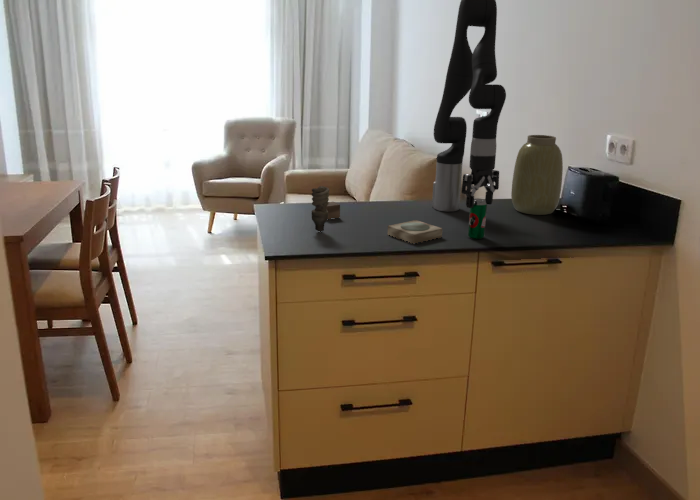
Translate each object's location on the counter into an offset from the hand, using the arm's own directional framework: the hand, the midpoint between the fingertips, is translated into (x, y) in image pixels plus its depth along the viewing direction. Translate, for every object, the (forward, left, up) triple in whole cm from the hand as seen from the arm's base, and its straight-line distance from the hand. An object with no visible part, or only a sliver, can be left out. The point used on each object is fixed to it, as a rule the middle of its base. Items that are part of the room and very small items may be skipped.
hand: (479, 205), depth 192 cm
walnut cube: (-46, -24, -5) cm, 52 cm away
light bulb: (-32, -37, -10) cm, 50 cm away
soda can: (0, 0, -10) cm, 10 cm away
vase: (-11, +44, -11) cm, 47 cm away
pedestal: (-12, -15, -10) cm, 22 cm away
